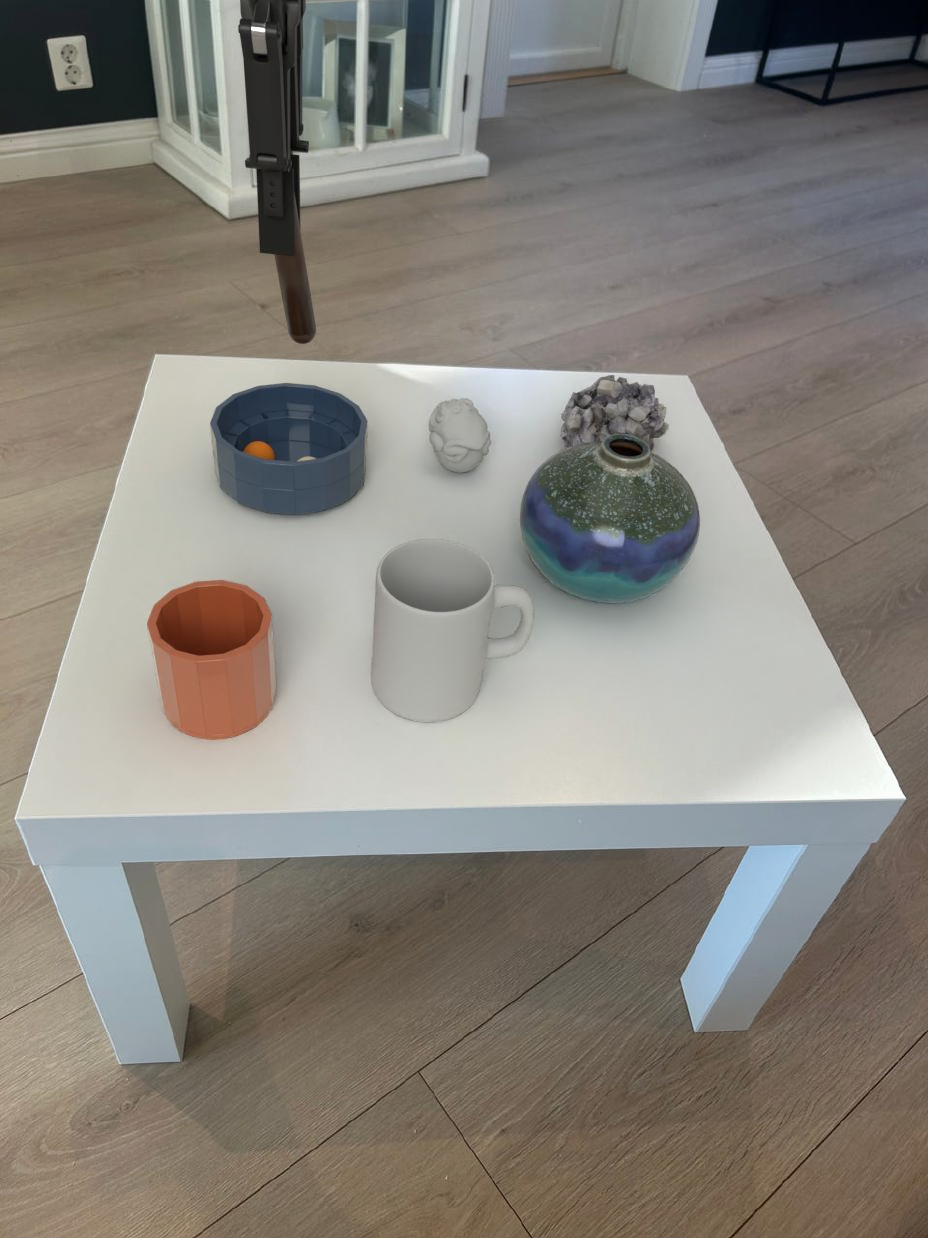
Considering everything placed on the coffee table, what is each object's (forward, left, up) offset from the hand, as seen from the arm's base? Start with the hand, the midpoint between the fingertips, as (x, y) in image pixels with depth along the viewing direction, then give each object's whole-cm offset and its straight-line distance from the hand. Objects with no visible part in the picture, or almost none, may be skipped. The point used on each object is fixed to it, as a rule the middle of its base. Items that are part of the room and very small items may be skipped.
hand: (280, 244), depth 78 cm
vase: (+29, -10, -23) cm, 39 cm away
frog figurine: (+16, +5, -23) cm, 28 cm away
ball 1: (-3, 0, -21) cm, 21 cm away
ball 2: (+2, -2, -21) cm, 21 cm away
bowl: (0, +1, -23) cm, 23 cm away
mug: (+16, -25, -23) cm, 38 cm away
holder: (-1, -29, -23) cm, 37 cm away
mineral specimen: (+32, +11, -23) cm, 41 cm away
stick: (+2, 0, -8) cm, 8 cm away
